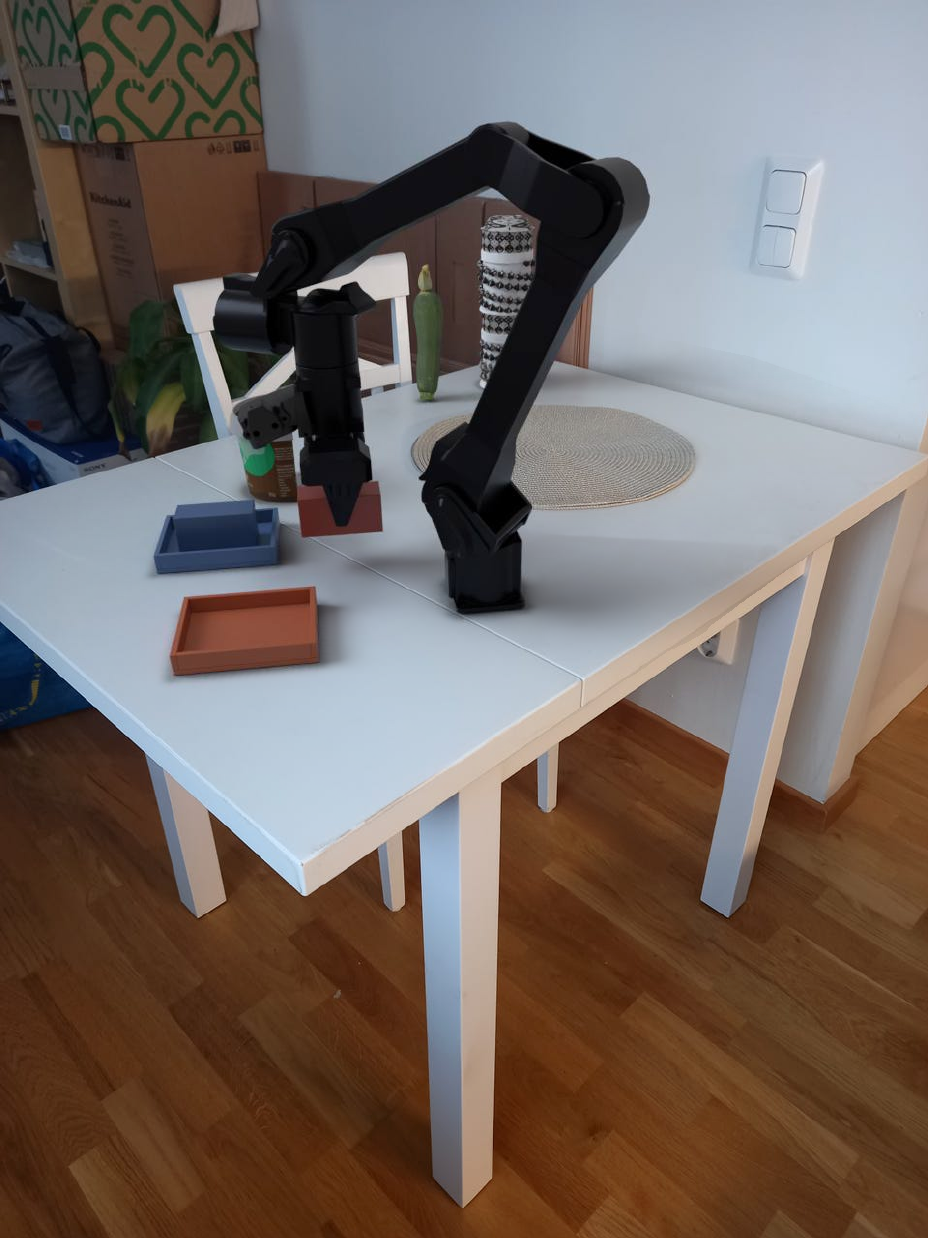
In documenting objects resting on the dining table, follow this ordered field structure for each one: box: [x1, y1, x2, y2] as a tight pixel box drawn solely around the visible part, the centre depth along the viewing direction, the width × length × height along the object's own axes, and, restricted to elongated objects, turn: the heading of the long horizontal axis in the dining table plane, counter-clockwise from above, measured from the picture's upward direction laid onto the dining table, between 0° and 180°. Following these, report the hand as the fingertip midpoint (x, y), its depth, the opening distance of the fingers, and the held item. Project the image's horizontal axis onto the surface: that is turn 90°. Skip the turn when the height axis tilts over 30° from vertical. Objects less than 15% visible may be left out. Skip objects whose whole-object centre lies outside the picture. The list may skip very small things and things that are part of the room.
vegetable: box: [412, 264, 444, 402], centre depth 133 cm, size 4×4×20 cm
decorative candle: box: [476, 214, 536, 389], centre depth 139 cm, size 9×9×25 cm
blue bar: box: [173, 499, 259, 552], centre depth 94 cm, size 8×4×4 cm, turn 99°
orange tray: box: [169, 585, 320, 676], centre depth 79 cm, size 12×10×2 cm
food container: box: [228, 393, 298, 503], centre depth 106 cm, size 12×6×10 cm, turn 21°
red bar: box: [296, 480, 384, 539], centre depth 89 cm, size 8×4×4 cm, turn 99°
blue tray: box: [153, 507, 281, 574], centre depth 95 cm, size 12×10×2 cm
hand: (341, 517), depth 89 cm, fingers closed on red bar, 3 cm apart
